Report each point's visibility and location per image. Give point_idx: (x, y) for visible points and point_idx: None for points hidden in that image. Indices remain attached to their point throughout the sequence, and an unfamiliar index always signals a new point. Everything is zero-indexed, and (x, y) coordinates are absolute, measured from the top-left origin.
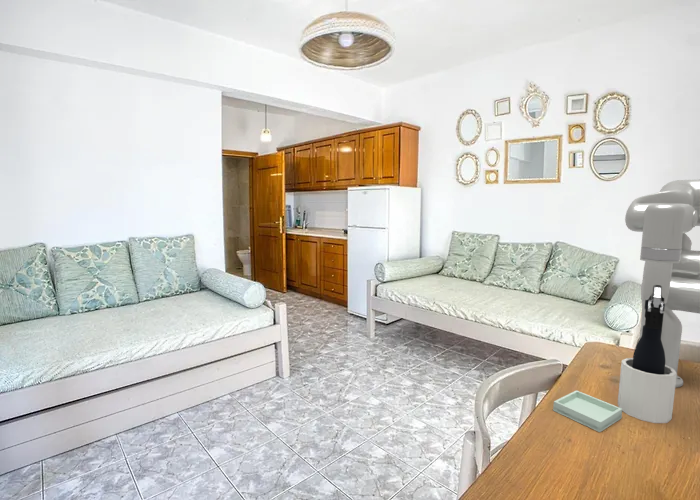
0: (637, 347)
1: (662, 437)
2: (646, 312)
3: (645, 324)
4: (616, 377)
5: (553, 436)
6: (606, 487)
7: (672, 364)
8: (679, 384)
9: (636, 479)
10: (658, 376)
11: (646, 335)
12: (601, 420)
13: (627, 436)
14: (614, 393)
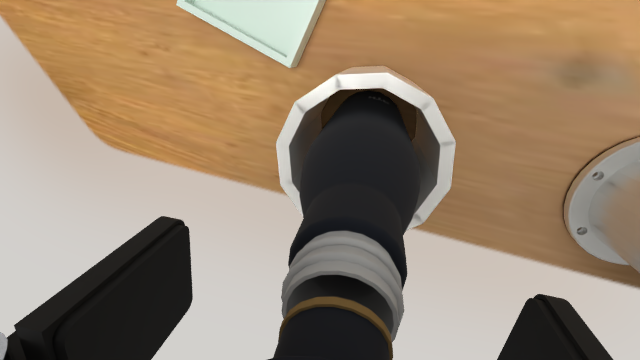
0: (339, 142)
1: (255, 139)
2: (39, 311)
3: (152, 226)
4: (614, 82)
5: None
6: (15, 14)
7: (636, 266)
8: (582, 247)
9: (75, 67)
10: (281, 177)
11: (313, 206)
12: (188, 7)
13: (214, 70)
14: (457, 63)
